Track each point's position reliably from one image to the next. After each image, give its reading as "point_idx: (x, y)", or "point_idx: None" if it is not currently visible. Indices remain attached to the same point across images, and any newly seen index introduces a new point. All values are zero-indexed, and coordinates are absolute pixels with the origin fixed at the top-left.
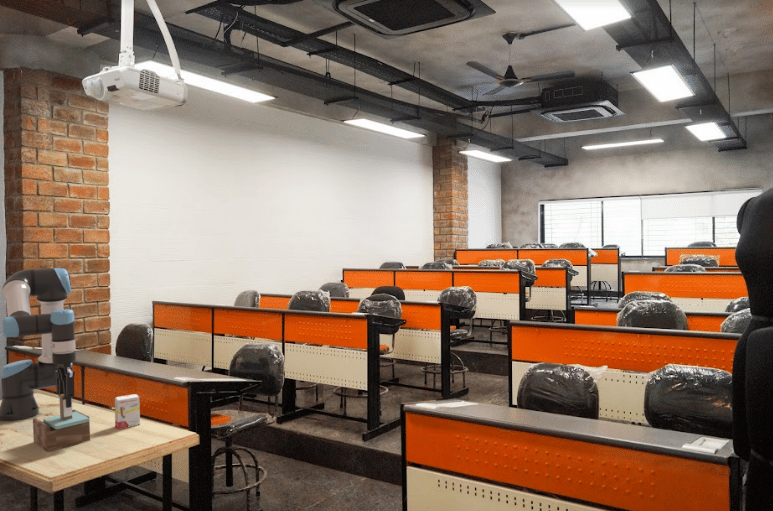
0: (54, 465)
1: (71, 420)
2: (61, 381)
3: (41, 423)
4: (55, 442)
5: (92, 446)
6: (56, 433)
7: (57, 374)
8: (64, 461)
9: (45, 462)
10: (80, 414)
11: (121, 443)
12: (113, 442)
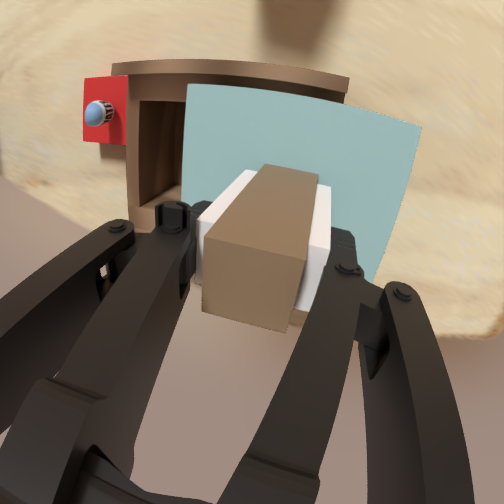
0: (443, 296)
1: (358, 204)
2: (138, 412)
3: None
4: None
5: (422, 130)
6: None
7: (7, 419)
8: (448, 267)
9: None
10: (282, 98)
11: (488, 69)
12: (454, 67)
